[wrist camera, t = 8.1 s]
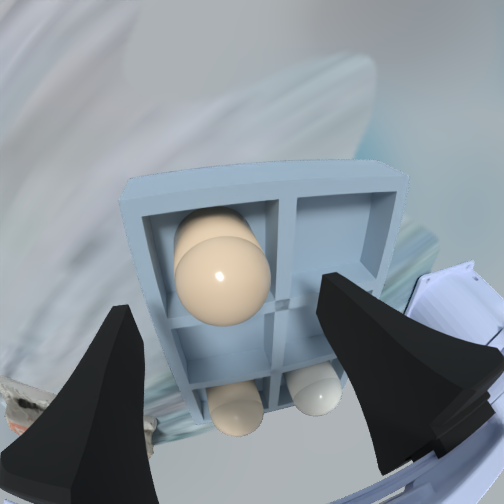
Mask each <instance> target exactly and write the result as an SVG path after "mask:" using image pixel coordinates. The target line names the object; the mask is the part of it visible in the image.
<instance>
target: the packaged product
mask: <svg viewBox="0 0 504 504" xmlns="http://www.w3.org/2000/svg"><path fill="white" fill-rule="evenodd" d="M0 393H1V395H2V396H3V398H4V400H5V401H6V404H7V408H6V412H5V417H6V420H7V422H8V425H9V428H10V429H11V430H12V431H14V432H15V433H17V434H18V435H20V436H21V435H22V434H23V433H24V432H25V431H26V430H27V429H28V428H29V427H30V426H31V425H32V424H33V423H34V422H35V421H36V419H37V418H38V417H39V416H40V415H41V414H42V413H43V412H44V410H45V409H46V408H47V407H48V406H49V404H50V403H51V402H52V401H53V400H54V398H55V397H56V396H57V395H55V394H52V393H49V392H46V391H43V390H40V389H37V388H34V387H31V386H28V385H25V384H23V383H20V382H17V381H15V380H12V379H10V378H7V377H5V376H2V375H0ZM143 420H144V433H145V441H146V448H147V454H148V459H149V458H150V457H151V455H152V454H153V453H154V452H153V444H152V434H153V432H154V430H155V429H156V425H157V419H156V418H155V417H150V416H143Z"/></svg>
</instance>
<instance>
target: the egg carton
mask: <svg viewBox="0 0 504 504" xmlns="http://www.w3.org/2000/svg"><path fill="white" fill-rule="evenodd" d="M409 180H410V176H408V175H406V174H404V173H402V172H400V171H398V170H396V169H394V168H392V167H390V166H388V165H386V164H384V163H382V162H380V161H378V160H300V161H278V162H262V163H248V164H236V165H226V166H216V167H207V168H198V169H190V170H182V171H175V172H168V173H161V174H154V175H148V176H142V177H136V178H130V180H129V182H128V184H127V185H126V187H125V189H124V191H123V193H122V195H121V197H120V199H119V206H120V210H121V215H122V219H123V224H124V228H125V232H126V236H127V240H128V244H129V247H130V251H131V255H132V258H133V262H134V266H135V269H136V272H137V276H138V279H139V282H140V286H141V289H142V292H143V295H144V298H145V301H146V304H147V307H148V310H149V313H150V316H151V319H152V322H153V325H154V328H155V330H156V333H157V336H158V338H159V341H160V344H161V346H162V349H163V351H164V354H165V357H166V359H167V362H168V364H169V366H170V369H171V371H172V374H173V376H174V378H175V381H176V383H177V385H178V388H179V390H180V392H181V394H182V397H183V399H184V401H185V403H186V405H187V407H188V409H189V412H190V414H191V416H192V418H193V420H194V422H195V424H196V425H201V424H208V423H213V422H212V420H211V417H210V412H209V406H208V401H207V395H206V389H205V388H207V387H214V386H220V385H226V384H232V383H237V382H242V381H247V380H252V379H255V382H256V385H257V389H258V392H259V395H260V398H261V402H262V405H263V409H264V413H267V412H271V411H275V410H279V409H283V408H287V407H291V406H295V404H294V402H293V400H292V397H291V394H290V392H289V389H288V387H287V384H286V382H285V379H284V376H283V374H282V373H284V372H288V371H292V370H296V369H300V368H303V367H307V366H311V365H314V364H318V363H322V362H325V361H328V360H329V361H330V363H331V365H332V366H333V368H334V370H335V372H336V374H337V376H338V378H339V380H340V382H341V385H342V390H343V388H344V386H345V383H346V381H347V379H348V376H347V374H346V372H345V371H344V369H343V367H342V365H341V363H340V362H339V360H338V358H337V356H336V355H335V353H334V351H333V349H332V348H331V346H330V344H329V342H328V340H327V339H326V337H325V335H324V333H323V330H322V328H321V325H320V323H319V320H318V318H317V315H316V309H317V303H318V298H319V292H320V286H321V280H322V274H327V273H333V272H338V273H339V274H341V275H343V276H344V277H346V278H347V279H349V280H350V281H352V282H353V283H355V284H356V285H358V286H359V287H361V288H362V289H364V290H365V291H367V292H368V293H370V294H371V295H373V296H374V297H376V298H377V299H379V298H380V295H381V292H382V289H383V286H384V283H385V279H386V276H387V273H388V269H389V266H390V263H391V259H392V255H393V252H394V248H395V244H396V240H397V237H398V233H399V228H400V224H401V220H402V216H403V211H404V206H405V201H406V197H407V191H408V186H409ZM213 206H225V207H228V208H231V209H233V210H235V211H237V212H239V213H240V214H241V215H242V216H243V217H244V218H245V219H246V220H247V222H248V223H249V225H250V227H251V229H252V231H253V233H254V235H255V237H256V239H257V241H258V243H259V245H260V246H261V248H262V250H263V252H264V254H265V256H266V258H267V261H268V264H269V267H270V272H271V285H270V290H269V294H268V297H267V299H266V301H265V303H264V304H263V306H262V307H261V309H260V310H259V311H258V312H257V313H256V314H255V315H254V316H253V317H251V318H250V319H248V320H247V321H245V322H243V323H240V324H237V325H234V326H228V327H217V326H212V325H208V324H205V323H203V322H201V321H199V320H197V319H196V318H194V317H193V316H192V315H191V314H190V313H189V312H188V311H187V310H186V309H185V308H184V306H183V305H182V303H181V302H180V300H179V298H178V295H177V292H176V288H175V281H174V235H175V232H176V229H177V227H178V225H179V224H180V223H181V221H182V220H183V219H184V218H185V217H186V216H187V215H189V214H190V213H192V212H193V211H195V210H197V209H199V208H205V207H213Z"/></svg>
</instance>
